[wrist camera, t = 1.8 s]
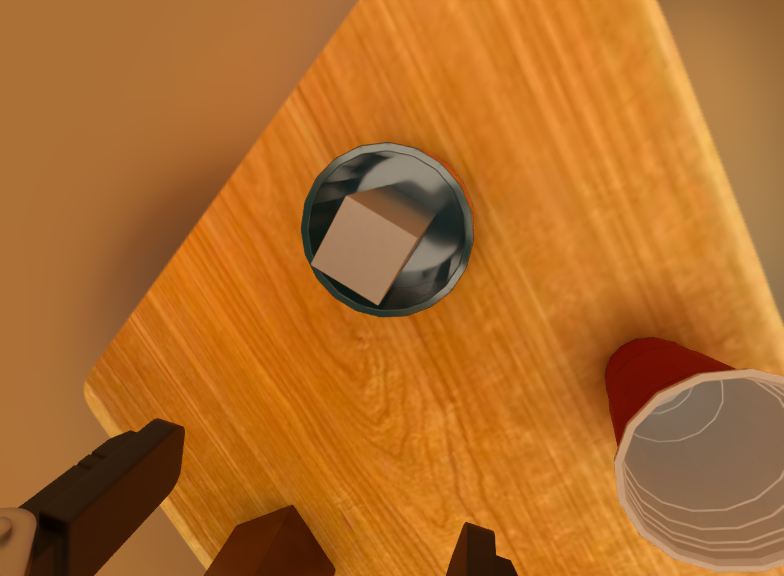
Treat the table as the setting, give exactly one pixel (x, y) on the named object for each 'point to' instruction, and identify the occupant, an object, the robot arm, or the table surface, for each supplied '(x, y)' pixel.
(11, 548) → the robot arm
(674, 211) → the table surface
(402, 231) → the block
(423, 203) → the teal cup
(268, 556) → the pedestal
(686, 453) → the plastic cup
